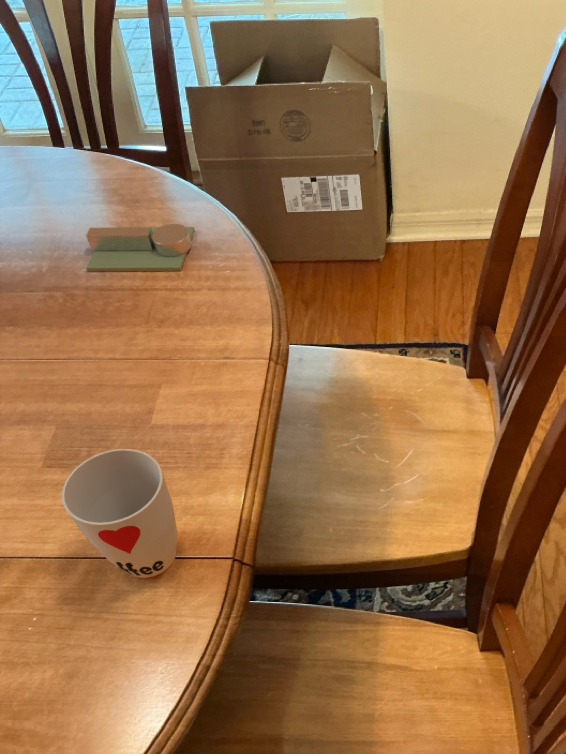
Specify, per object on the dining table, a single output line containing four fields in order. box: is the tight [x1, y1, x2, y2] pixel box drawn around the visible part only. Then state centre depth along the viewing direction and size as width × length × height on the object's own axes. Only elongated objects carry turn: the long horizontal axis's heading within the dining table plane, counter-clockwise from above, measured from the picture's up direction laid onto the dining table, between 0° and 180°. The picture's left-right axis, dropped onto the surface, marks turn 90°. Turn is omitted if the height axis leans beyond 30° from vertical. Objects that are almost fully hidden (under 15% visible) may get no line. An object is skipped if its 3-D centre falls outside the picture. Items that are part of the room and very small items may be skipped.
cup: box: [61, 448, 178, 579], centre depth 67 cm, size 8×8×10 cm
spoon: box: [85, 223, 192, 257], centre depth 98 cm, size 13×5×2 cm, turn 88°
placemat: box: [86, 226, 196, 272], centre depth 99 cm, size 12×9×1 cm
